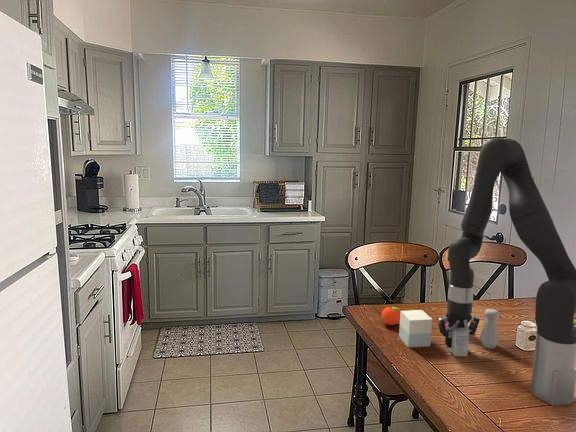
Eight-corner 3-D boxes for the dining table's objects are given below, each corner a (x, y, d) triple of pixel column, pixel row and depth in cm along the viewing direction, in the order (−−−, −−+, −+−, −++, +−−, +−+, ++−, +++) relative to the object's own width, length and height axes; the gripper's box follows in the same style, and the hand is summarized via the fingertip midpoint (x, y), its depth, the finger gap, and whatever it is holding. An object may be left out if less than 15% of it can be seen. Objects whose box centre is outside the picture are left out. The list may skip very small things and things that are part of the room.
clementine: (399, 320, 159) (400, 303, 158) (404, 328, 152) (405, 310, 151) (379, 320, 159) (379, 303, 157) (383, 328, 152) (384, 310, 151)
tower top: (431, 333, 138) (432, 319, 137) (408, 334, 137) (409, 320, 136) (421, 322, 146) (421, 309, 145) (399, 324, 145) (400, 310, 144)
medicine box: (467, 356, 131) (469, 332, 130) (453, 356, 131) (455, 331, 130) (457, 345, 139) (459, 321, 138) (444, 345, 139) (446, 321, 138)
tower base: (430, 346, 138) (431, 333, 138) (408, 348, 138) (408, 334, 137) (420, 336, 146) (421, 323, 145) (399, 337, 145) (399, 324, 145)
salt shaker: (500, 350, 135) (504, 314, 133) (482, 349, 136) (485, 312, 134) (495, 342, 141) (498, 307, 139) (477, 341, 142) (480, 306, 140)
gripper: (445, 303, 128) (441, 353, 131) (487, 301, 129) (483, 350, 132) (434, 294, 135) (430, 342, 138) (474, 293, 137) (470, 340, 140)
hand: (456, 346), depth 135 cm, fingers closed on medicine box, 4 cm apart
